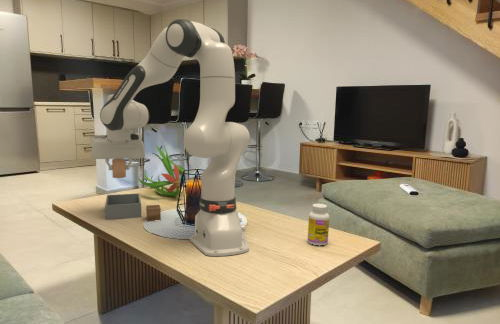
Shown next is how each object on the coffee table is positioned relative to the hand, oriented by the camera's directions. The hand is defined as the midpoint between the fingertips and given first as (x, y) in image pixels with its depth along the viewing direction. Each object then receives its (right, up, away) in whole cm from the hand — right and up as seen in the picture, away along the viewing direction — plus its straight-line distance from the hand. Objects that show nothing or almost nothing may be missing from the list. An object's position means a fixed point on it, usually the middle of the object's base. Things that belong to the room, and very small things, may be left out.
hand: (119, 169), depth 147 cm
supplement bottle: (+75, -24, -24) cm, 82 cm away
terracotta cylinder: (0, -3, 0) cm, 3 cm away
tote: (0, -18, +5) cm, 18 cm away
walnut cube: (+15, -19, -3) cm, 24 cm away
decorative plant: (+12, -14, +35) cm, 40 cm away
